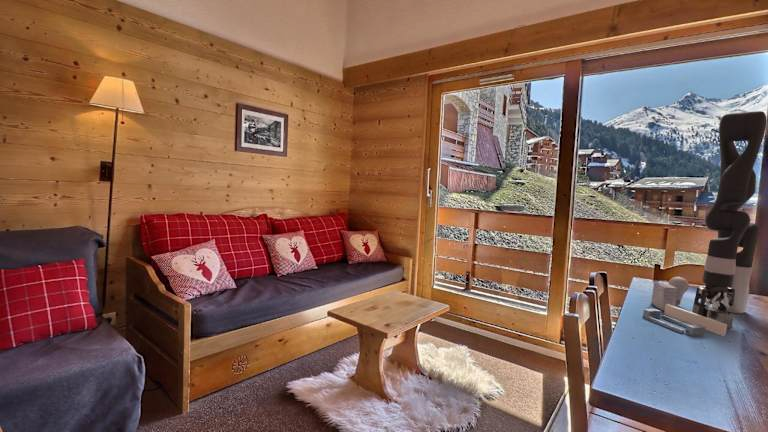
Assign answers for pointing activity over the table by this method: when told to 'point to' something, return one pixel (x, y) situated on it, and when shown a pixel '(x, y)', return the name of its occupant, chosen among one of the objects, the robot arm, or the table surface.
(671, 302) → the medicine box
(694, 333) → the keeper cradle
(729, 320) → the lock bar
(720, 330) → the door edge
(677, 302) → the lightbulb
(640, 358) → the table surface
